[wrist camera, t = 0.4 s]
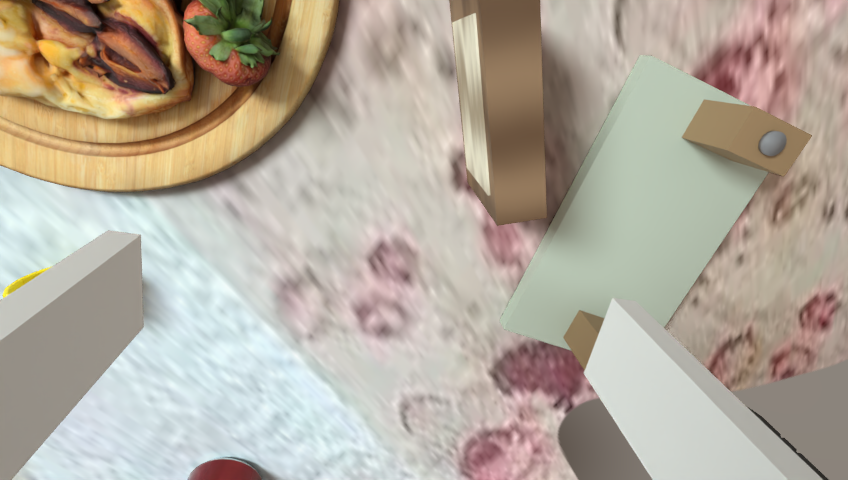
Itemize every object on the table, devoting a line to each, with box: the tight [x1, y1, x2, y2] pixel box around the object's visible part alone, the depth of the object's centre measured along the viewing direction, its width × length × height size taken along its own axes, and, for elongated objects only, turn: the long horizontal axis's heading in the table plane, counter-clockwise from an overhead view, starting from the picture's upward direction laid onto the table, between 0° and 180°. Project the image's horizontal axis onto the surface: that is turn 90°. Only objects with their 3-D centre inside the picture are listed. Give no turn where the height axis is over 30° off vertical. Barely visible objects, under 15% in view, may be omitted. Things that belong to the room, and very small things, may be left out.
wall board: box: [500, 55, 812, 370], centre depth 36 cm, size 24×14×7 cm, turn 158°
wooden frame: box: [449, 0, 547, 226], centre depth 29 cm, size 13×3×10 cm, turn 8°
